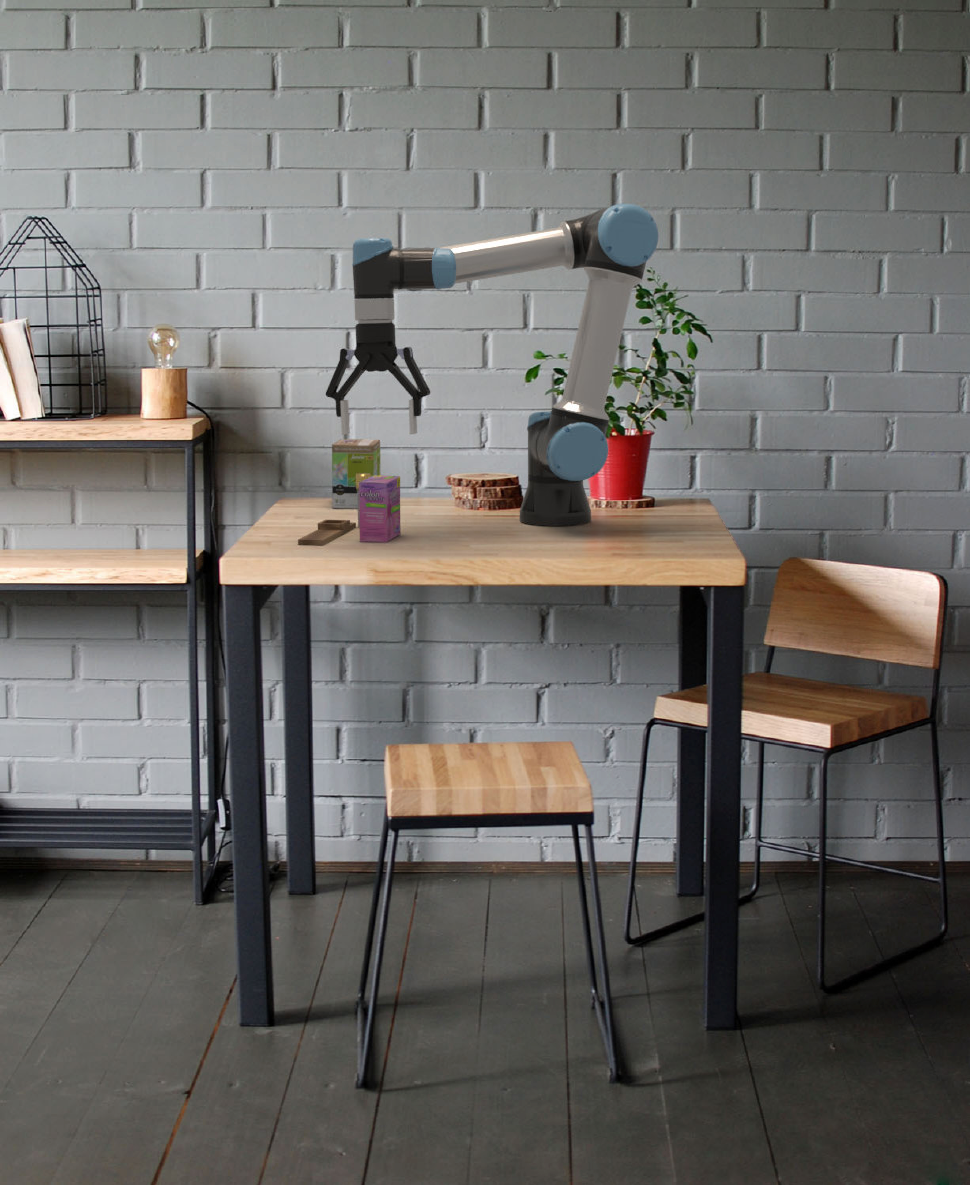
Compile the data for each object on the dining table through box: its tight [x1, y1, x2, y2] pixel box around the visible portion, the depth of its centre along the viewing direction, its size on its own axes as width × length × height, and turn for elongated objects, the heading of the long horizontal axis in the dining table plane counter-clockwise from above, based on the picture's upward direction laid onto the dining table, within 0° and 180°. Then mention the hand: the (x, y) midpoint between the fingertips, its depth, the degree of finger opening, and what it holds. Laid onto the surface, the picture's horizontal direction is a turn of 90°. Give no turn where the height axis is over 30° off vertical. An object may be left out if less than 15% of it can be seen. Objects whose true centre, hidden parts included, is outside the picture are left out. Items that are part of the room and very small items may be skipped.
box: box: [358, 475, 401, 544], centre depth 260 cm, size 10×6×12 cm, turn 168°
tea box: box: [331, 438, 381, 509], centre depth 306 cm, size 15×10×15 cm
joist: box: [297, 519, 357, 546], centre depth 264 cm, size 5×22×2 cm, turn 169°
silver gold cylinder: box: [356, 473, 370, 528], centre depth 273 cm, size 3×3×11 cm
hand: (379, 433), depth 257 cm, fingers open, 13 cm apart
